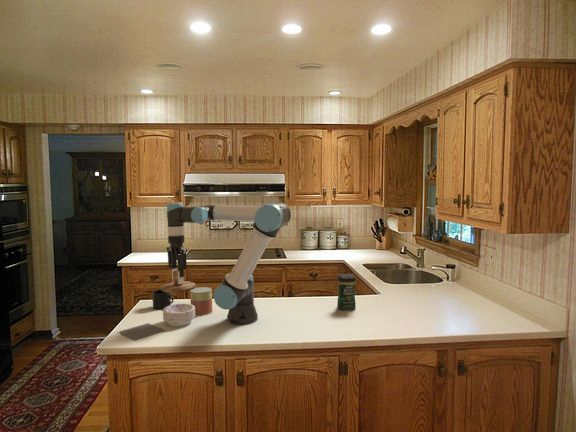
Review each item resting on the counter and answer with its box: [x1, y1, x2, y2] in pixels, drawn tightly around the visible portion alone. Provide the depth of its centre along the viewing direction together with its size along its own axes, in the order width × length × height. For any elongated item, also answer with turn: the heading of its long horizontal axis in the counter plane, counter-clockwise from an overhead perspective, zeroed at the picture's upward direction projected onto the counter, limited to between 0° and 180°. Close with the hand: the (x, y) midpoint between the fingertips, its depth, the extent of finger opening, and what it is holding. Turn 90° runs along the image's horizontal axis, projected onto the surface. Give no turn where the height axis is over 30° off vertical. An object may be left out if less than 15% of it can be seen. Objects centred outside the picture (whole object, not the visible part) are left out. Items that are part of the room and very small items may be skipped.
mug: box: [151, 289, 174, 311], centre depth 229 cm, size 9×12×9 cm
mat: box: [118, 322, 167, 342], centre depth 192 cm, size 16×16×1 cm
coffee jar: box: [336, 273, 357, 311], centre depth 222 cm, size 10×8×19 cm
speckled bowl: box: [162, 303, 196, 327], centre depth 203 cm, size 15×15×8 cm
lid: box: [160, 269, 196, 294], centre depth 201 cm, size 16×16×8 cm
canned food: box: [189, 286, 213, 316], centre depth 220 cm, size 11×11×12 cm
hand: (178, 282), depth 201 cm, fingers closed on lid, 4 cm apart
